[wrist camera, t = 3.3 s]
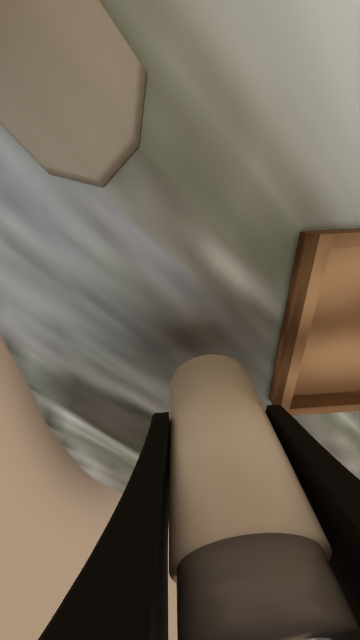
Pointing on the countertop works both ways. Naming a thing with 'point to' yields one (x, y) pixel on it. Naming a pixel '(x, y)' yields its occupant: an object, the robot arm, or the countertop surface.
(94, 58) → the flask
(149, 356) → the countertop surface
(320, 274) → the tray
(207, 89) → the countertop surface
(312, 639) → the pepper shaker
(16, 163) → the countertop surface
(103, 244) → the countertop surface
